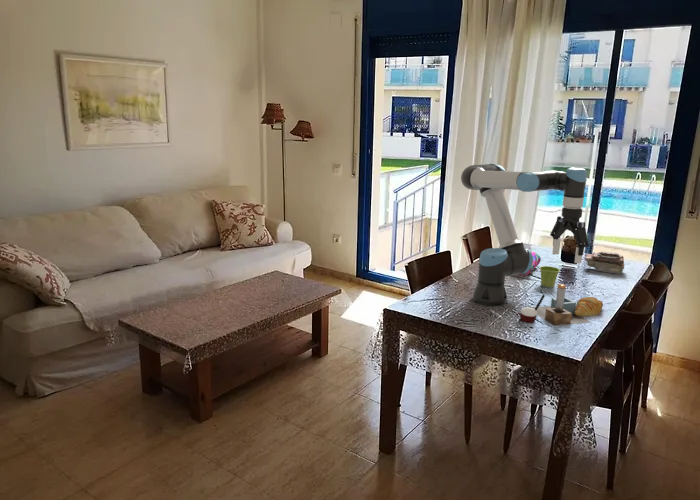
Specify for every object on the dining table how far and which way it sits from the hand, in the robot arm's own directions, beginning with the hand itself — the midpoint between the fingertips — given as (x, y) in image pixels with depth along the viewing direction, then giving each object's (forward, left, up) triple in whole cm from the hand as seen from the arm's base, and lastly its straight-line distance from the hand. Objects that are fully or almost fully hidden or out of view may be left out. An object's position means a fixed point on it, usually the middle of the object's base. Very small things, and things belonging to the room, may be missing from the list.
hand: (566, 258), depth 218 cm
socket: (+3, +2, -25) cm, 26 cm away
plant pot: (+19, +36, -25) cm, 48 cm away
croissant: (+14, +1, -25) cm, 29 cm away
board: (-1, -1, -25) cm, 25 cm away
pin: (-5, -6, -24) cm, 25 cm away
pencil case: (+23, +61, -26) cm, 70 cm away
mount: (-5, -6, -25) cm, 26 cm away
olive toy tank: (+63, +51, -26) cm, 85 cm away
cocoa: (-17, -4, -26) cm, 31 cm away
